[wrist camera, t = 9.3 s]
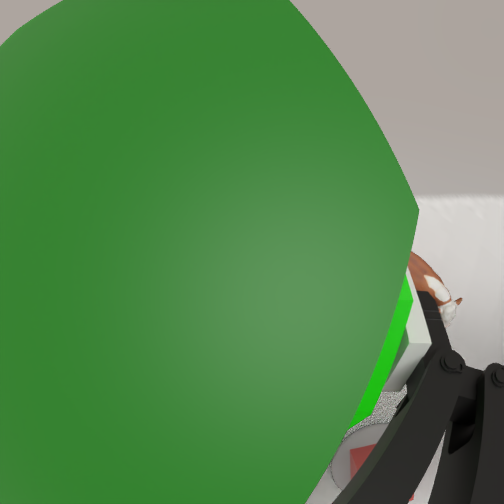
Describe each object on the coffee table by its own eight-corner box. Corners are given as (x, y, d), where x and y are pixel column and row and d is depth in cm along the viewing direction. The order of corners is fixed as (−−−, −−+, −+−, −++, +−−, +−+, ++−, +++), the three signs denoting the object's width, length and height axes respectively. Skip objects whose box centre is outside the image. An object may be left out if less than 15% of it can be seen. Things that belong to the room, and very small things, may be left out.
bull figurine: (423, 331, 34) (452, 334, 26) (359, 259, 37) (375, 246, 29) (443, 307, 34) (473, 305, 26) (380, 237, 37) (400, 218, 29)
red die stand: (412, 413, 32) (437, 434, 23) (410, 478, 29) (429, 506, 21) (328, 433, 33) (336, 462, 24) (332, 497, 30) (338, 531, 22)
